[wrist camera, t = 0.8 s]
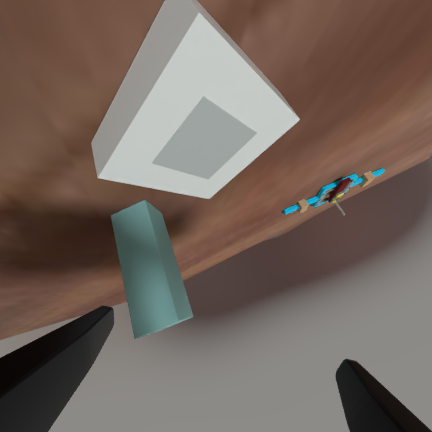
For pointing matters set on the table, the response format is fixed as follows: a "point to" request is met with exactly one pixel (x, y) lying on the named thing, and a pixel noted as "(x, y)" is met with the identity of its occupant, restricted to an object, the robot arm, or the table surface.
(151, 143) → the plinth
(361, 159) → the table surface
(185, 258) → the table surface
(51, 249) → the table surface
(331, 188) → the gear mechanism
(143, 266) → the pillar
